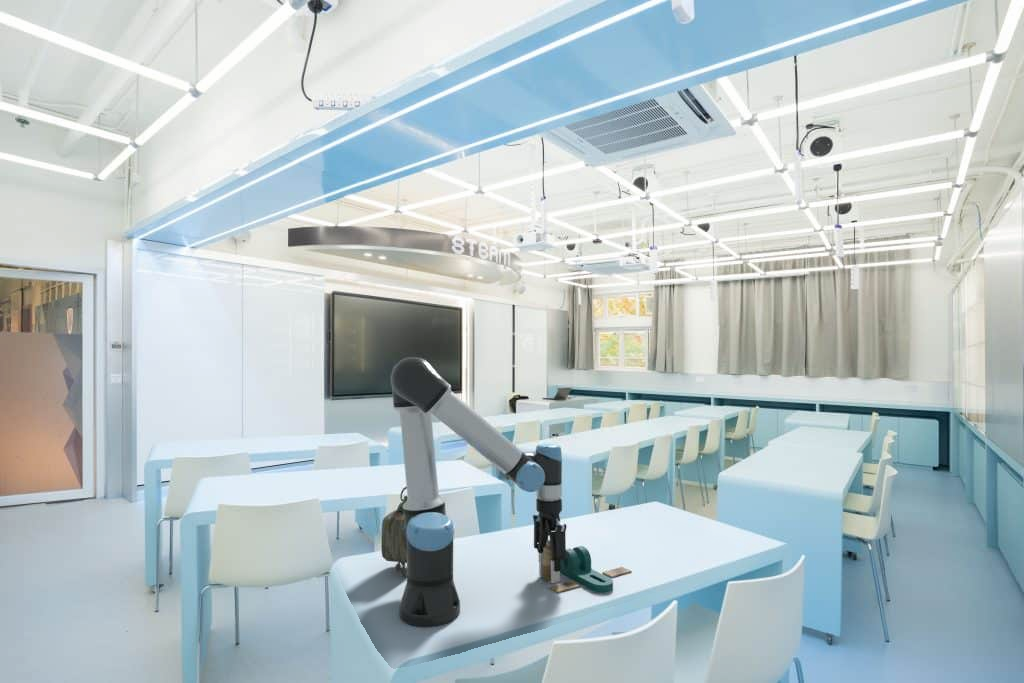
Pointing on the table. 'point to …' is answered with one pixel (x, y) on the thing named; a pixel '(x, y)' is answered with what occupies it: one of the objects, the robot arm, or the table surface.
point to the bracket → (584, 571)
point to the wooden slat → (572, 585)
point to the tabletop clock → (395, 536)
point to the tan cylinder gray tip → (547, 561)
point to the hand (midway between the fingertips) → (549, 578)
